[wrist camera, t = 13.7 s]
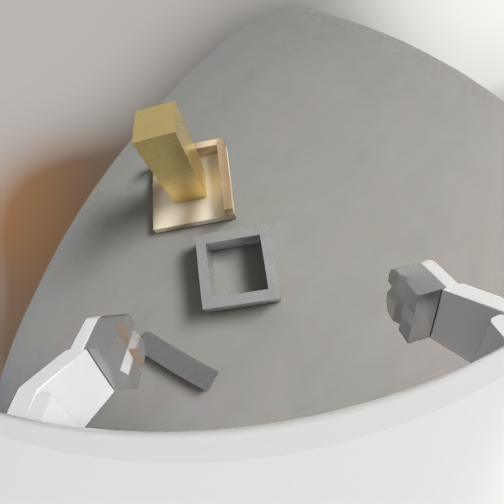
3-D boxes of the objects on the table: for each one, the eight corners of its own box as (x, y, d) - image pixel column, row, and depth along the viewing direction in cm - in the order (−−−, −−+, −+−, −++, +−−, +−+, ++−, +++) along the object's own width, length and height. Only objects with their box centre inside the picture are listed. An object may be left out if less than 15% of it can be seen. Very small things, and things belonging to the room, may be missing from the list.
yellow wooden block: (175, 203, 39) (132, 143, 26) (174, 176, 41) (135, 111, 27) (207, 197, 39) (174, 131, 26) (204, 169, 40) (175, 100, 27)
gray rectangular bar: (219, 371, 34) (215, 373, 32) (210, 388, 34) (206, 391, 32) (151, 332, 36) (144, 331, 34) (143, 349, 36) (136, 349, 34)
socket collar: (208, 311, 36) (202, 309, 33) (201, 243, 39) (195, 235, 36) (280, 301, 36) (280, 297, 33) (269, 232, 38) (268, 223, 35)
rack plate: (156, 233, 40) (147, 224, 37) (156, 165, 43) (148, 154, 40) (236, 218, 39) (232, 208, 36) (227, 150, 42) (223, 137, 39)
